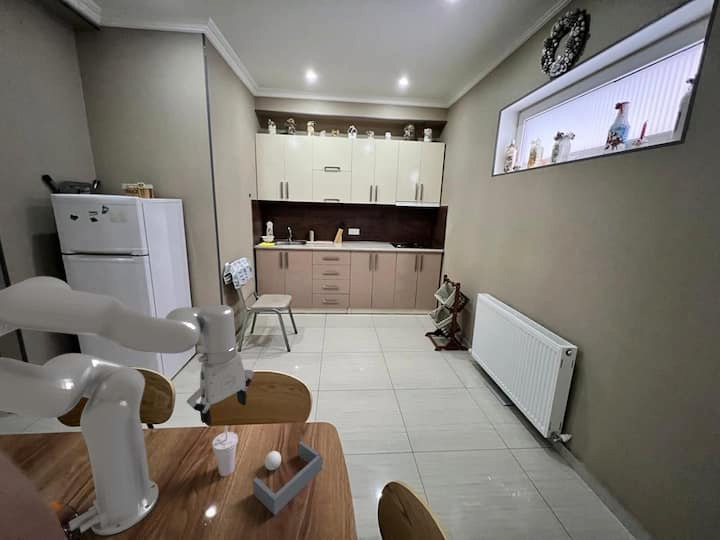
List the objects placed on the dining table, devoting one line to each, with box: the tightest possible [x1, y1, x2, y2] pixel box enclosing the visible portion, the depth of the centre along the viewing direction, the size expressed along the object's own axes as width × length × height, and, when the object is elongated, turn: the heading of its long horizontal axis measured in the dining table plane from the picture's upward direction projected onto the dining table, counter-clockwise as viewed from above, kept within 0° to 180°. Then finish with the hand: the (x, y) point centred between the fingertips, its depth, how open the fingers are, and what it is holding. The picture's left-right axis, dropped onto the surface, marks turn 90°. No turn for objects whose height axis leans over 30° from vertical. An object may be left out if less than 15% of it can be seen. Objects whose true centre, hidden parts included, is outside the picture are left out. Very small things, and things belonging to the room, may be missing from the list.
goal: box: [252, 440, 323, 516], centre depth 76 cm, size 16×8×4 cm, turn 144°
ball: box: [264, 450, 282, 471], centre depth 80 cm, size 4×4×4 cm
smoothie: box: [211, 425, 239, 477], centre depth 78 cm, size 6×6×14 cm
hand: (225, 412), depth 76 cm, fingers open, 9 cm apart
